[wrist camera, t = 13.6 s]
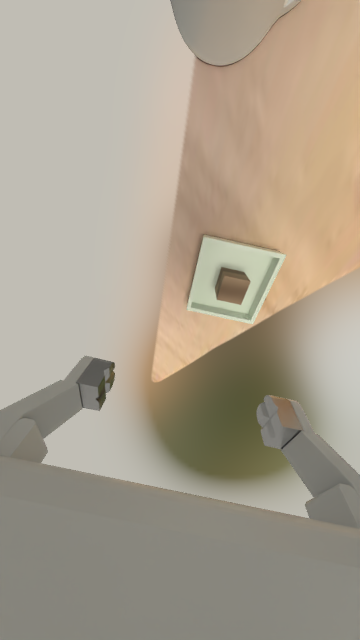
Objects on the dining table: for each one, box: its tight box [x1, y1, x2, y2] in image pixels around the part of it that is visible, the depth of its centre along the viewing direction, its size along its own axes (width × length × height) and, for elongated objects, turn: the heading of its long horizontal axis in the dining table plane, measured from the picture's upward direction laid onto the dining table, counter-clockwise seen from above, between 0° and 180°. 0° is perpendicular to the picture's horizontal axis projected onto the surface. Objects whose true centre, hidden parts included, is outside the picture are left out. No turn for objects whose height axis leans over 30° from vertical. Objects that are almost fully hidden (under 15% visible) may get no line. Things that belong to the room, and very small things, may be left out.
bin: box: [187, 235, 286, 324], centre depth 39 cm, size 16×16×4 cm
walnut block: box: [215, 267, 251, 305], centre depth 37 cm, size 5×5×6 cm
